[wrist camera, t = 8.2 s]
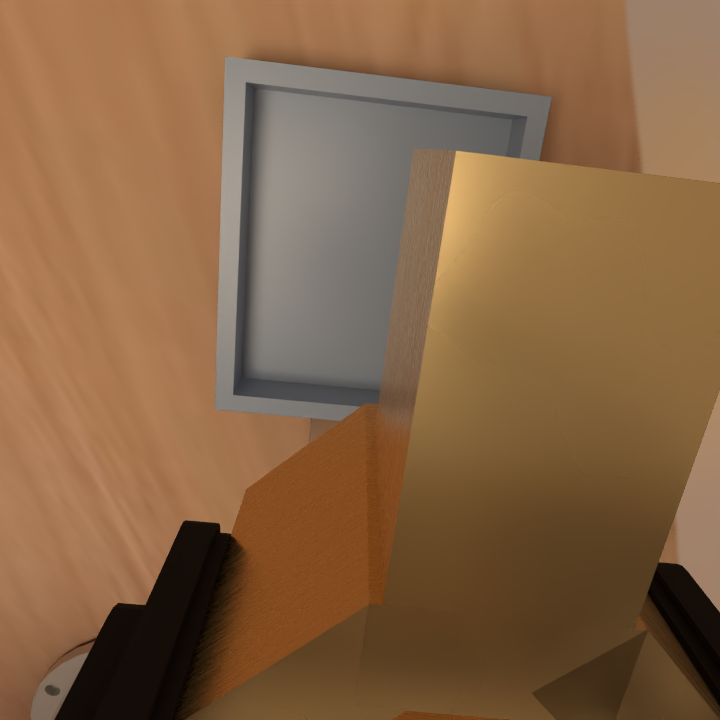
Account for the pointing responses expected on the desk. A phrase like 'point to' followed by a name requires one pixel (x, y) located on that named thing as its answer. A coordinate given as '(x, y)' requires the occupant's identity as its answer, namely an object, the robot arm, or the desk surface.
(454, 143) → the tray
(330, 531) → the ring
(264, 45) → the desk surface
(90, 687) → the robot arm
